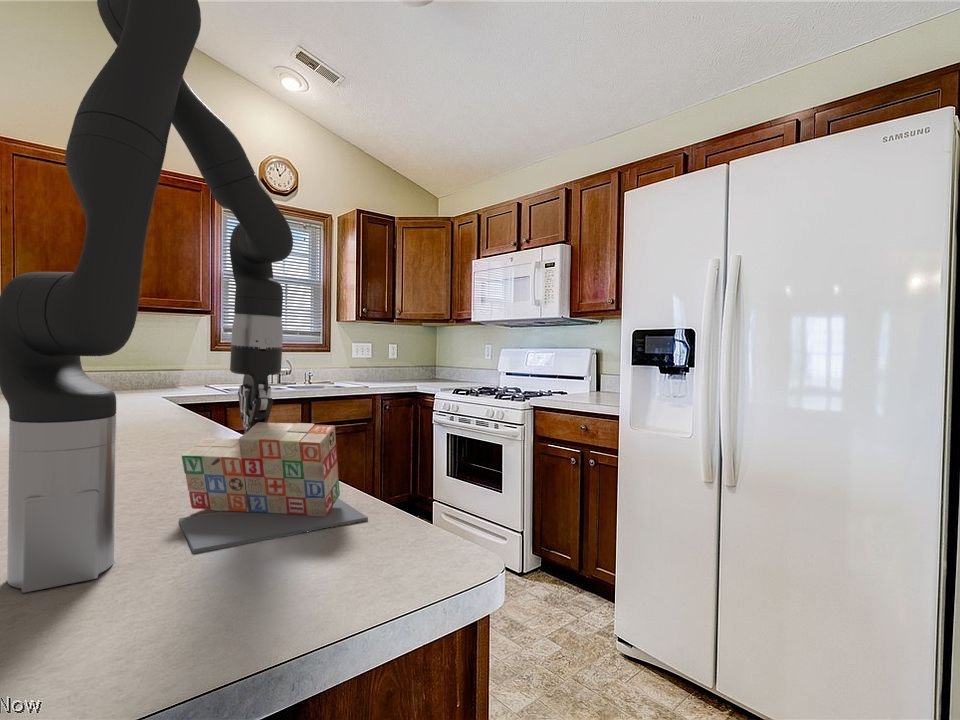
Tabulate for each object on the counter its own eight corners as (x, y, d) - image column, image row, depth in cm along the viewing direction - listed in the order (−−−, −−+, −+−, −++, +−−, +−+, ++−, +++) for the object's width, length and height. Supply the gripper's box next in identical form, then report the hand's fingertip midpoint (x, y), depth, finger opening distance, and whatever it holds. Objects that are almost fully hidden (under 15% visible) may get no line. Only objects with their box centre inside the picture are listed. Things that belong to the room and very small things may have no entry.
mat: (367, 520, 77) (367, 517, 77) (193, 553, 63) (193, 549, 63) (333, 497, 88) (333, 495, 88) (179, 521, 74) (179, 518, 74)
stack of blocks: (190, 510, 78) (176, 436, 74) (213, 488, 84) (202, 419, 80) (327, 516, 76) (320, 441, 73) (341, 494, 82) (335, 423, 79)
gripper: (223, 341, 85) (218, 444, 86) (240, 344, 75) (235, 462, 75) (270, 343, 90) (266, 441, 90) (293, 347, 79) (288, 458, 80)
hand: (252, 451), depth 83 cm, fingers closed
